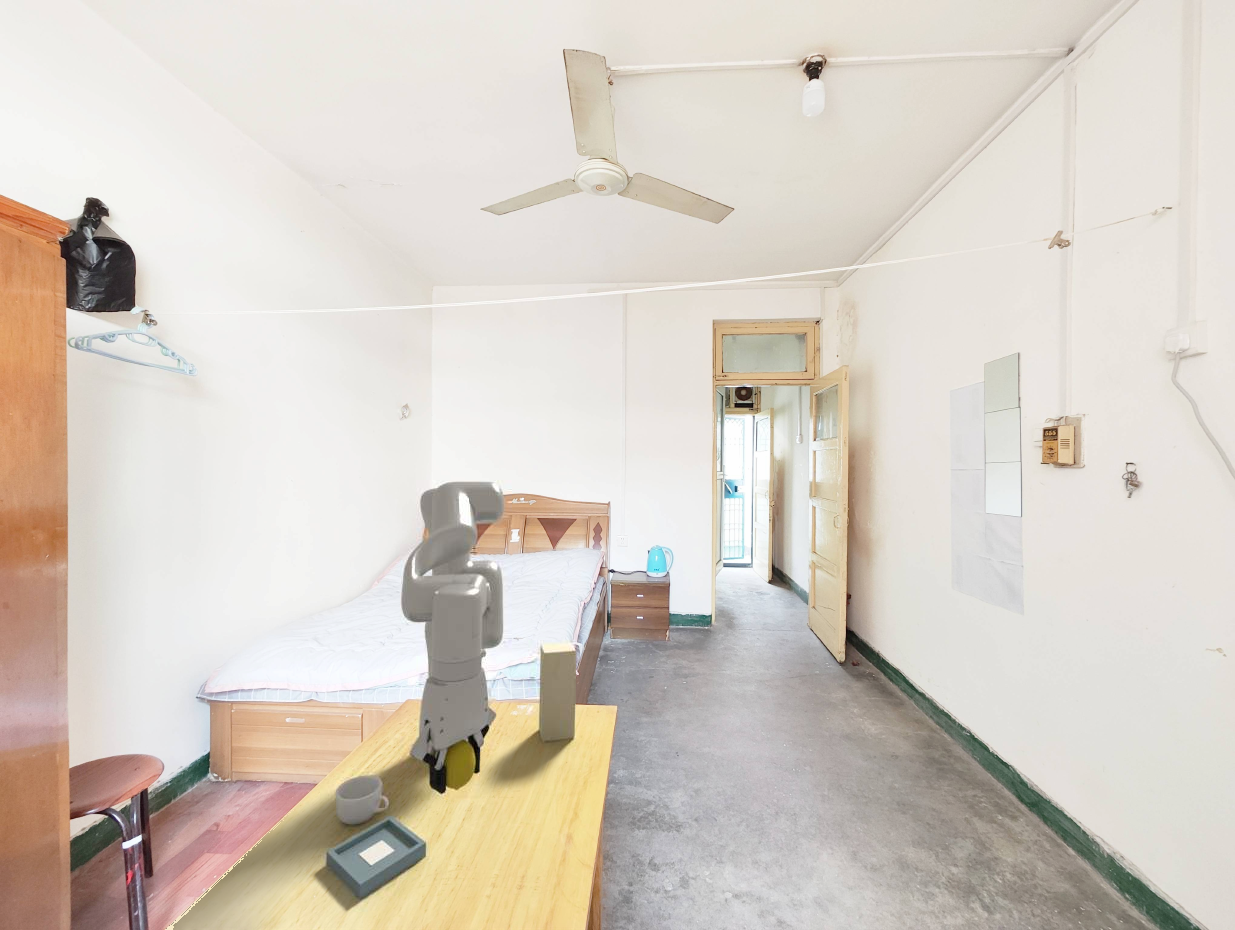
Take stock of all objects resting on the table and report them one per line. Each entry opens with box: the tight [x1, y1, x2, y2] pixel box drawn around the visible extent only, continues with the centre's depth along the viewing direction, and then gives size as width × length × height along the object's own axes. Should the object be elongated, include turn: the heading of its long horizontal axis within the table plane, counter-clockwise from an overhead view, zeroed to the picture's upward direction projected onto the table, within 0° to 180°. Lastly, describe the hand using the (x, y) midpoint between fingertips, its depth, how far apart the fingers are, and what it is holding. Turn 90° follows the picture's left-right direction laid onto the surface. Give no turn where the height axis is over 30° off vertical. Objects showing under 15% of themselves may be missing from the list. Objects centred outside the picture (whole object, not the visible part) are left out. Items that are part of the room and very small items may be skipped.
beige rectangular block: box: [538, 641, 577, 742], centre depth 127 cm, size 8×7×21 cm
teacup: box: [334, 774, 390, 826], centre depth 96 cm, size 10×8×5 cm
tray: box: [325, 815, 427, 900], centre depth 85 cm, size 11×11×2 cm
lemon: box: [443, 740, 476, 791], centre depth 81 cm, size 6×6×8 cm
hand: (455, 778), depth 81 cm, fingers closed on lemon, 5 cm apart
